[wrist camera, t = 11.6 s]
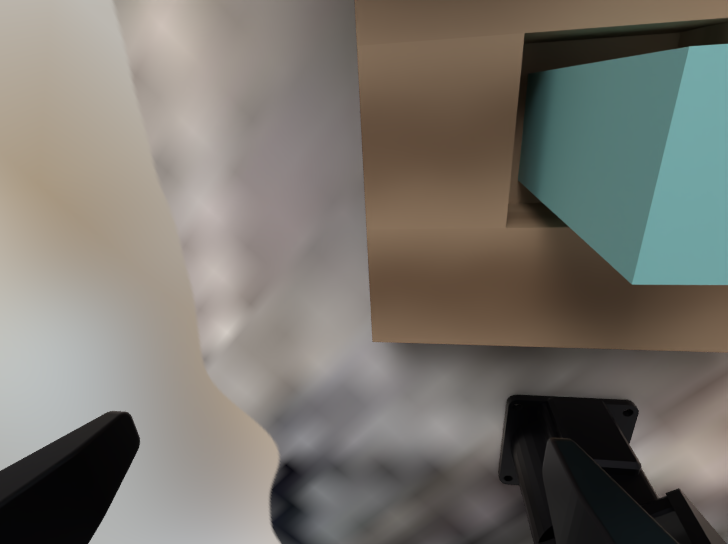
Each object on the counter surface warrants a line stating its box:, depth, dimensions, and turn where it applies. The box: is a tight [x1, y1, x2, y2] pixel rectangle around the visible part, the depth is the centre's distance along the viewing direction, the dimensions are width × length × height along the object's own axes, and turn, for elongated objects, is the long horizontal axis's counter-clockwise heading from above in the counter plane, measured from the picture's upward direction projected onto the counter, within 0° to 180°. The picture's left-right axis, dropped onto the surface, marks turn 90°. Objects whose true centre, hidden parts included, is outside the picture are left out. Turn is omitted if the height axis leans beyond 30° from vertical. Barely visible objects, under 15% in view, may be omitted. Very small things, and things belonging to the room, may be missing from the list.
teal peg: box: [518, 44, 728, 285], centre depth 11 cm, size 4×4×10 cm
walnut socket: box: [355, 0, 728, 353], centre depth 14 cm, size 16×16×4 cm
